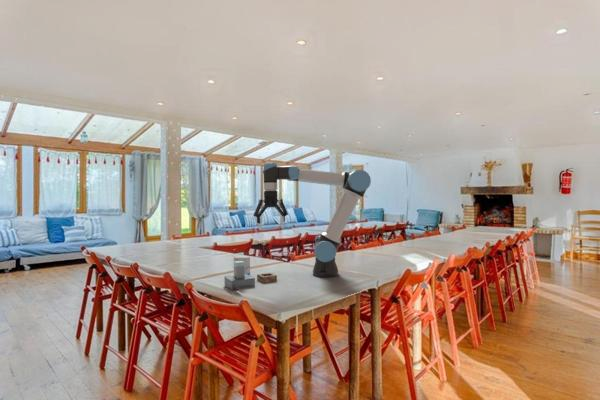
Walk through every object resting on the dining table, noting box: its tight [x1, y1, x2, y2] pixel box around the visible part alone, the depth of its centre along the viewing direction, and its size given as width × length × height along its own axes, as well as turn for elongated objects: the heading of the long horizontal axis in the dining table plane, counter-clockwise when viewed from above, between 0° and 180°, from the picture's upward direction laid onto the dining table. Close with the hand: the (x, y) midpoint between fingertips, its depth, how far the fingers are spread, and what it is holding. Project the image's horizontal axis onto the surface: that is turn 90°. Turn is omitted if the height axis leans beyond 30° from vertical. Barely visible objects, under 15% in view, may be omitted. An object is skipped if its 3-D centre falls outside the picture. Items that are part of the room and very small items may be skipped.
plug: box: [233, 260, 245, 279], centre depth 179 cm, size 4×4×12 cm
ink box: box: [233, 256, 251, 276], centre depth 201 cm, size 9×5×12 cm, turn 74°
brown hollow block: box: [256, 272, 278, 284], centre depth 188 cm, size 8×8×4 cm
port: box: [224, 274, 256, 292], centre depth 179 cm, size 12×12×5 cm
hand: (271, 228), depth 193 cm, fingers open, 13 cm apart
